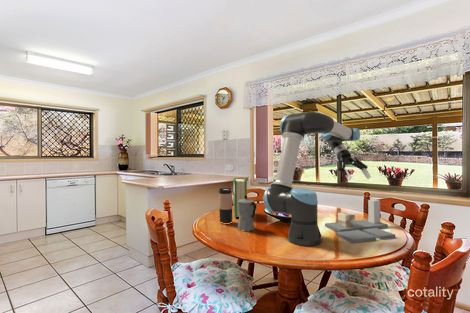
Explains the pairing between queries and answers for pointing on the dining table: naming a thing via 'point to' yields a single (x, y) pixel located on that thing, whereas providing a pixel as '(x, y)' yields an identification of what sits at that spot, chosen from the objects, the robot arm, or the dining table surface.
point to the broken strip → (364, 235)
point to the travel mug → (225, 205)
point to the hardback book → (239, 192)
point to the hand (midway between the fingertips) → (359, 178)
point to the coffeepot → (246, 214)
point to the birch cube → (346, 219)
